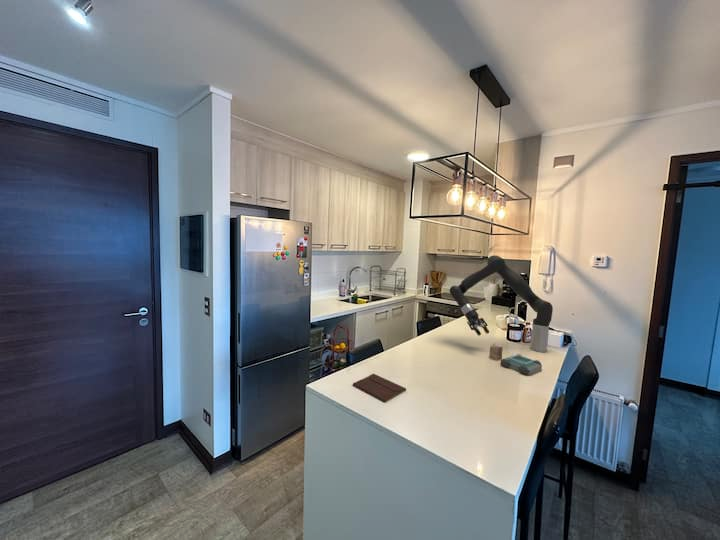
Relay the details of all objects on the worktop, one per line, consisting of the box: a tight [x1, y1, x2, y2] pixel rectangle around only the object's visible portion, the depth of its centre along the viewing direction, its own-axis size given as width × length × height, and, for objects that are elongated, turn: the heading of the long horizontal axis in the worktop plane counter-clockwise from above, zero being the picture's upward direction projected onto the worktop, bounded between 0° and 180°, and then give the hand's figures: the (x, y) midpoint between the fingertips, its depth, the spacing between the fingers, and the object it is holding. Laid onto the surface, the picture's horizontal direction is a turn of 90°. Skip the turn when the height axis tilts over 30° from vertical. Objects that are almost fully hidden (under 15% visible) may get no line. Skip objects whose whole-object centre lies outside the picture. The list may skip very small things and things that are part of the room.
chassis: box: [500, 353, 543, 377], centre depth 163 cm, size 16×16×5 cm
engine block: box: [488, 343, 504, 361], centre depth 175 cm, size 5×5×8 cm
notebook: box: [352, 373, 407, 404], centre depth 134 cm, size 15×20×2 cm
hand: (484, 334), depth 181 cm, fingers open, 8 cm apart
